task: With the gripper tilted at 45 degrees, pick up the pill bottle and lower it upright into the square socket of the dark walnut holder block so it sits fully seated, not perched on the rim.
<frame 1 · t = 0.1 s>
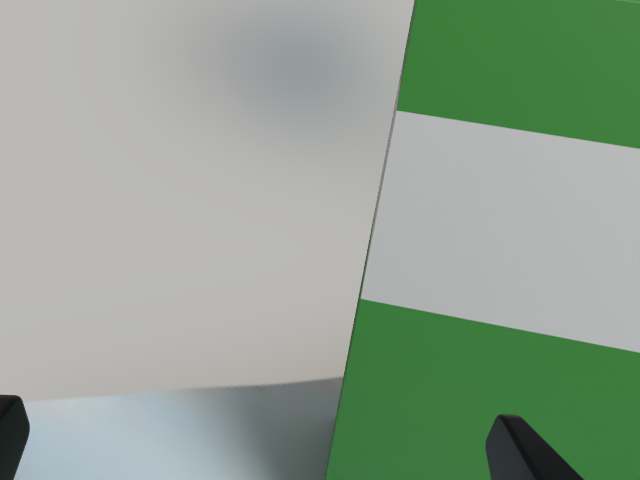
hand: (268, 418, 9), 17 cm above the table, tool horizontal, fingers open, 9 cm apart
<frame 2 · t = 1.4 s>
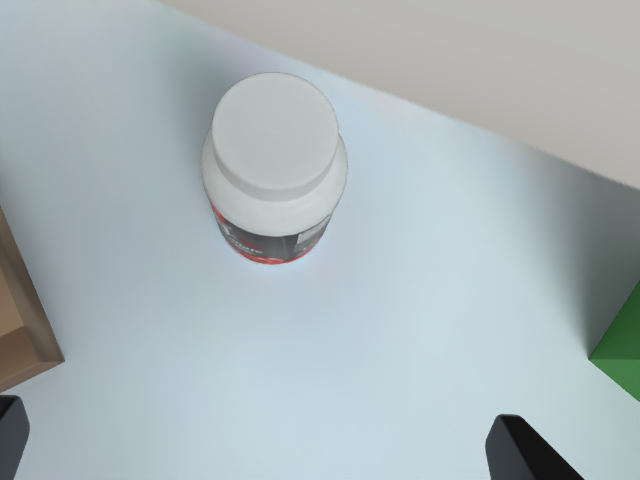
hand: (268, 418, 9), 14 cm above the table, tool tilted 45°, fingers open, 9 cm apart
pill bottle: (273, 216, 25), on the table
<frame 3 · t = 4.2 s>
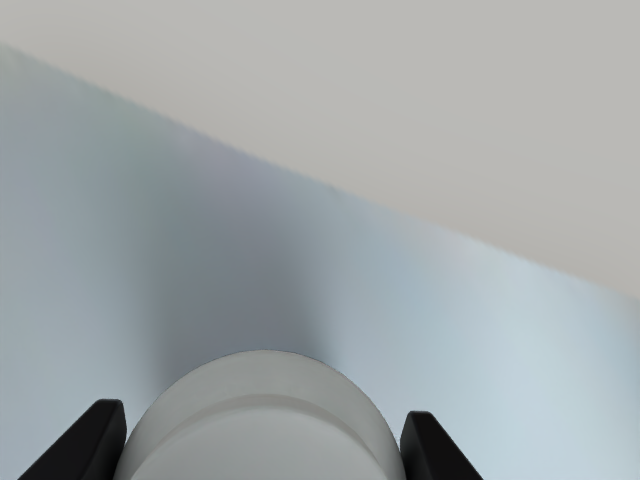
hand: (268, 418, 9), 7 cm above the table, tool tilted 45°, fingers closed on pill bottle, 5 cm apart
pill bottle: (264, 437, 16), on the table, touching gripper
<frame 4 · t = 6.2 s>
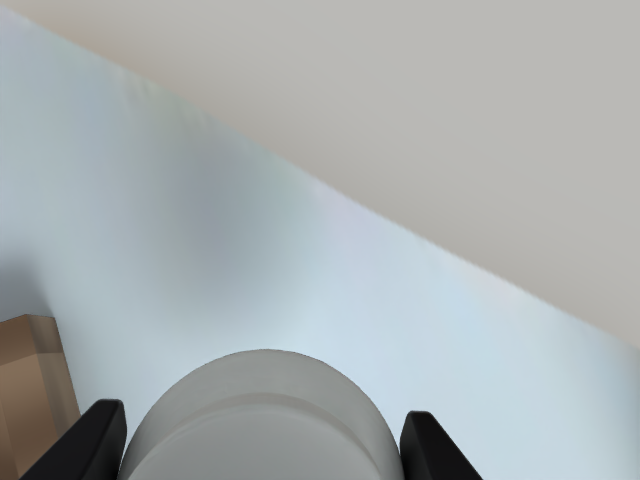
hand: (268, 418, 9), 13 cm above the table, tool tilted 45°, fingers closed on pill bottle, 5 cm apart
pill bottle: (270, 435, 16), point 6 cm above the table, touching gripper
when the fingers open (10 cm above the table, at t = 8.5 s): pill bottle drops 3 cm, resting on socket block.
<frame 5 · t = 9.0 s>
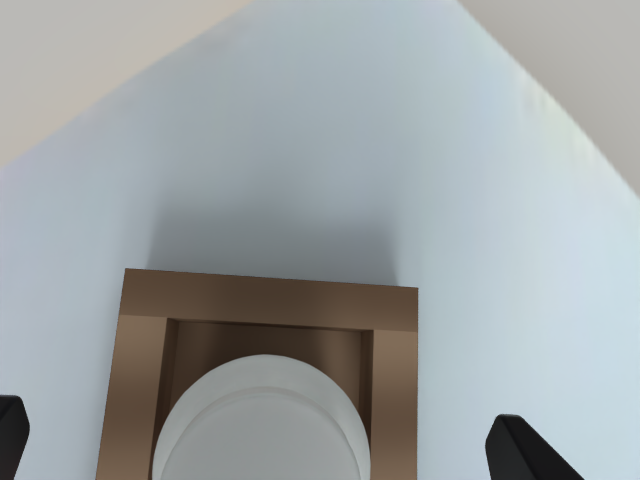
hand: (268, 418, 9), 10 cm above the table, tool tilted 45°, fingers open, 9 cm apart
socket block: (264, 421, 19), on the table, touching pill bottle
pill bottle: (265, 426, 19), resting on socket block
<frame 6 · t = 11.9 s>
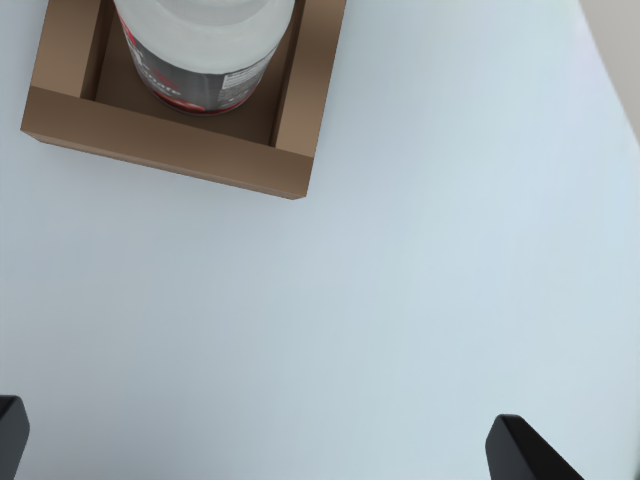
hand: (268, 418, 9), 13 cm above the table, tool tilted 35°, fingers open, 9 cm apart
socket block: (199, 57, 22), on the table, touching pill bottle
pill bottle: (199, 57, 21), resting on socket block
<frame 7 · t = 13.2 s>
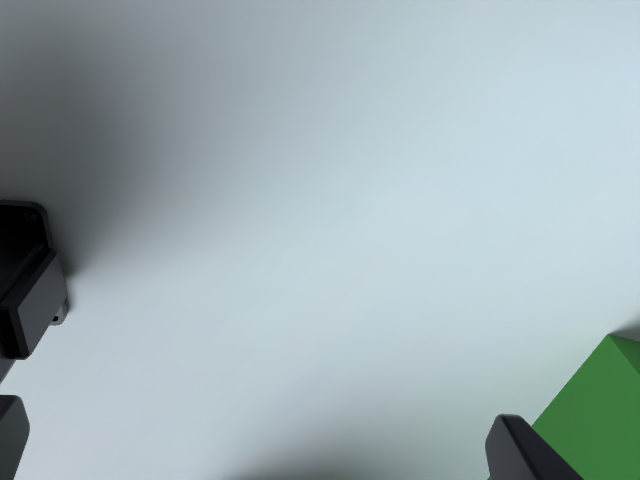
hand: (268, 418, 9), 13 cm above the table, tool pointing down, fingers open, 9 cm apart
hardback book: (572, 442, 32), on the table
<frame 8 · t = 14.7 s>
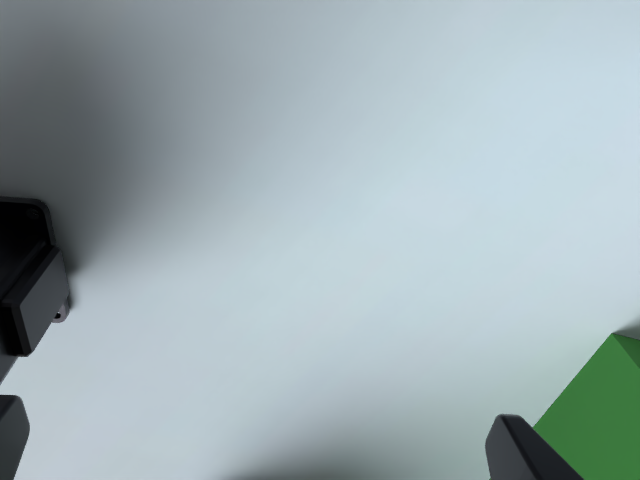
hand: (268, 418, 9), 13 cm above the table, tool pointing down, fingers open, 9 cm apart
hardback book: (575, 441, 32), on the table
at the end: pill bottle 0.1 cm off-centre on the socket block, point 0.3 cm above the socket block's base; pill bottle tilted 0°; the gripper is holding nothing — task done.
